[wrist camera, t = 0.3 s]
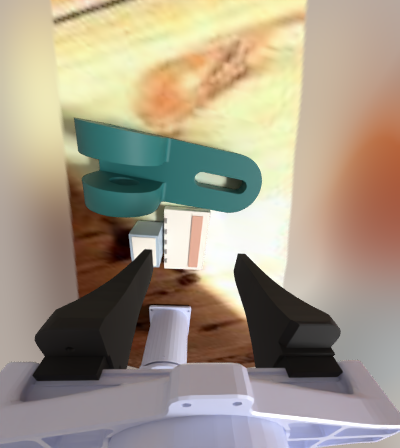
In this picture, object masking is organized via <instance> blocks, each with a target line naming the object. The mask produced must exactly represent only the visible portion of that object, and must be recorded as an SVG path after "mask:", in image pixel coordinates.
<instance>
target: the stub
mask: <svg viewBox="0 0 400 448" xmlns="http://www.w3.org/2000/svg"><path fill="white" fill-rule="evenodd" d="M129 241H130V249H131V257H132V261H133V260H134V259H135V258H136V257H137V256H138V255H139V254H140V253H141V252H142V251H143V250H144V249H152V253H153V267H159V266H160V262H161V258H162V254H163V222H151V221H137V222H136V224H135V225H134V227H133V228H132V230H131V231H130V233H129Z"/></svg>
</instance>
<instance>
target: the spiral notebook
mask: <svg viewBox="0 0 400 448" xmlns="http://www.w3.org/2000/svg"><path fill="white" fill-rule="evenodd" d="M209 220H210V210H209V209H201V208H188V207H175V206H165V208H164V268H173V269H195V270H202V269H203V262H204V255H205V248H206V241H207V234H208V227H209Z"/></svg>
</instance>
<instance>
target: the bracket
mask: <svg viewBox="0 0 400 448" xmlns="http://www.w3.org/2000/svg"><path fill="white" fill-rule="evenodd" d="M74 122H75V129H76V137H77V145H78V151H79V153H81V154H83V155H85V156H88V157H91V158H95V159H99V165H100V170H99V171H96V172H93V173H90V174H87V175H85V176H83V178H82V183H83V190H84V198H85V205H86V206H87V208H88V209H90V210H91V211H93V212H96V213H98V214H102V215H106V216H111V217H125V218H127V217H139V216H144V215H148V214H151V213H153V212H154V211H156V210H157V208H158V207H159V205H160V203H161V202H163V201H164V202H170V203H176V204H181V205H187V206H193V207H198V208H204V209H209V210H215V211H221V212H227V213H232V212H238V211H241V210H243V209H245V208H247V207H248V206H249V205H251V204H252V203H253V202H254V200H255V199H256V198H257V196H258V194H259V192H260V189H261V184H262V177H261V172H260V169H259V167H258V166H257V164H256V163H255V162H254V161H253V160H252V159H250V158H248V157H246V156H244V155H241V154H237V153H233V152H229V151H224V150H220V149H215V148H211V147H207V146H202V145H198V144H194V143H189V142H185V141H181V140H176V139H172V138H168V137H163V136H159V135H154V134H150V133H146V132H141V131H137V130H133V129H128V128H124V127H120V126H115V125H111V124H106V123H101V122H95V121H90V120H84V119H78V118H74ZM199 172H206V173H211V174H215V175H220V176H225V177H230V178H235V179H239V180H242V185H241V186H240V187H239V188H238V189H230V188H224V187H219V186H214V185H209V184H204V183H199V182H197V181H196V180H195V176H196V174H197V173H199Z"/></svg>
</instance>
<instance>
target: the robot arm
mask: <svg viewBox="0 0 400 448" xmlns="http://www.w3.org/2000/svg"><path fill="white" fill-rule="evenodd" d="M152 272H153V253H152V249H144V250H143V251H142V252H141V253H140V254H139V255H138V256H137V257H136V258H135V259H134V260H133V261H132V262H131V263H130V264H129V265H128V266H127V267H126V268H125V269H123V270H122V271H121V272H120V273H119V274H117V275H116V276H115V277H114V278H112V279H111V280H110V281H108V282H107V283H105V284H104V285H102V286H100V287H99V288H97V289H96V290H94V291H92V292H91V293H89V294H87V295H85V296H83V297H81V298H80V299H78V300H76V301H74V302H72V303H69V304H68V305H65V306H63V307H61V308H59V309H57V310H55V312H54V313H53V314H52V315H51V316H50V317H49V319H48V320H47V321H46V323H45V324H44V325H43V326H42V327H41V329H40V330H39V331H38V333H37V334H36V335H35V342H36V344H37V346H38V347H39V349H40V350H41V351H42V353H43V354H44V356H45V357H44V359H43V360H42V362H41V363H40V364H39V363H36V362H10V363H8V364H7V365H6V366H5V367H4V369H3V370H2V371H1V372H0V448H317V447H325V446H334V445H343V444H353V443H367V442H378V441H380V440H382V439H385V438H387V437H390V436H392V435H394V434H396V433H399V432H400V412H399V411H398V410H397V408H396V407H395V406H394V405H393V403H392V402H391V401H390V399H389V398H388V397H387V395H386V394H385V393H384V391H383V390H382V389H381V388H380V386H379V385H378V384H377V382H376V381H375V380H374V378H373V377H372V376H371V374H370V373H369V372H368V370H367V369H366V368H365V366H364V365H363V364H362V363H361V361H359V360H342V361H339V362H336V360H335V359H334V357H333V356H334V355H335V354H334V352H333V350H332V348H331V346H332V345H333V344H334V343H335V342H336V340H337V339H338V338H339V336H340V332H341V331H340V328H339V327H338V326H337V324H336V323H335V322H334V321H333V319H332V318H331V317H330V316H329V315H328V314H326V313H325V312H323V311H321V310H319V309H317V308H315V307H313V306H311V305H309V304H307V303H305V302H304V301H302V300H300V299H299V298H297V297H295V296H294V295H292V294H291V293H289V292H288V291H286V290H285V289H283V288H282V287H281V286H279V285H278V284H277V283H276V282H274V281H273V280H272V279H271V278H270V277H268V276H267V275H266V274H265V273H264V272H263V271H262V270H261V269H260V268H259V267H258V266H257V265H256V264H255V263H254V262H253V261H252V260H251V259H250V258H249V257H248V256H247V255H246V254H238V256H237V260H236V264H235V268H234V277H235V282H236V285H237V289H238V292H239V295H240V298H241V301H242V304H243V307H244V310H245V314H246V318H247V323H248V327H249V332H250V337H251V342H252V348H253V354H254V360H255V366H256V368H245V367H244V366H242V365H241V364H237V363H187V335H188V331H189V323H190V314H191V307H190V306H164V305H151V306H150V307H149V313H150V329H149V334H148V338H147V342H146V347H145V351H144V355H143V360H142V364H141V366H140V368H139V369H127V364H128V359H129V355H130V350H131V346H132V341H133V337H134V333H135V329H136V324H137V320H138V317H139V313H140V309H141V306H142V303H143V300H144V298H145V295H146V292H147V289H148V286H149V284H150V281H151V277H152Z"/></svg>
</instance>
